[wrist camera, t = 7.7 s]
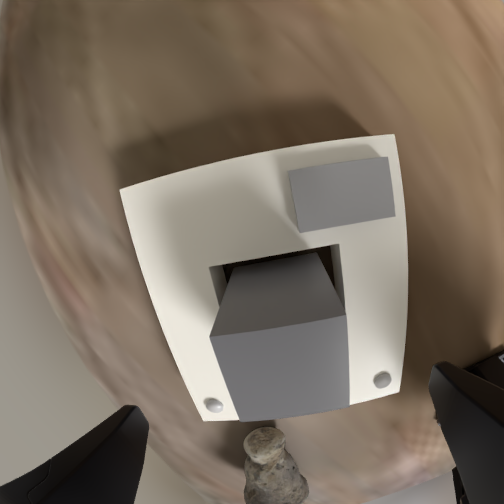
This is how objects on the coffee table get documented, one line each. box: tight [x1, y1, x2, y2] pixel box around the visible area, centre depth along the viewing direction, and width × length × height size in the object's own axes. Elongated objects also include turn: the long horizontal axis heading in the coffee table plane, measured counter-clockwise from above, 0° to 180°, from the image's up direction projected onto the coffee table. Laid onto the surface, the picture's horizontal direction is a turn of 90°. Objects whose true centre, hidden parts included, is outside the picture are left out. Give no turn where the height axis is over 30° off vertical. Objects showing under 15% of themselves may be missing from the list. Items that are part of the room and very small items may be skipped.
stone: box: [244, 427, 309, 504], centre depth 18 cm, size 10×5×8 cm
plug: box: [209, 252, 350, 422], centre depth 12 cm, size 4×4×7 cm
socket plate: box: [120, 134, 408, 421], centre depth 14 cm, size 14×12×3 cm
